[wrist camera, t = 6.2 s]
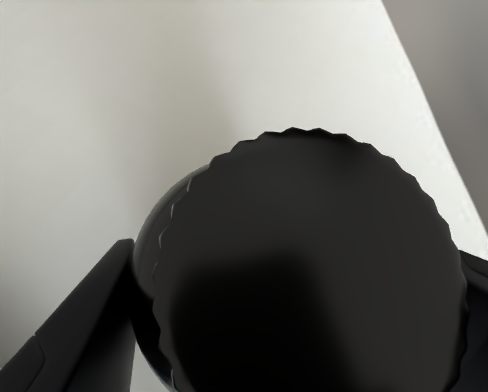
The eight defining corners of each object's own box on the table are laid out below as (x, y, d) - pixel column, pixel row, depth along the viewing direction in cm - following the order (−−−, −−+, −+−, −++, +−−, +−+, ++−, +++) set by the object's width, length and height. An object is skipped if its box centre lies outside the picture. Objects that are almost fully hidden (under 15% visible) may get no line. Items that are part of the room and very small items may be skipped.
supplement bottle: (270, 357, 15) (540, 674, 3) (141, 321, 14) (-92, 554, 3) (299, 230, 17) (533, 147, 5) (187, 194, 16) (168, 9, 5)
